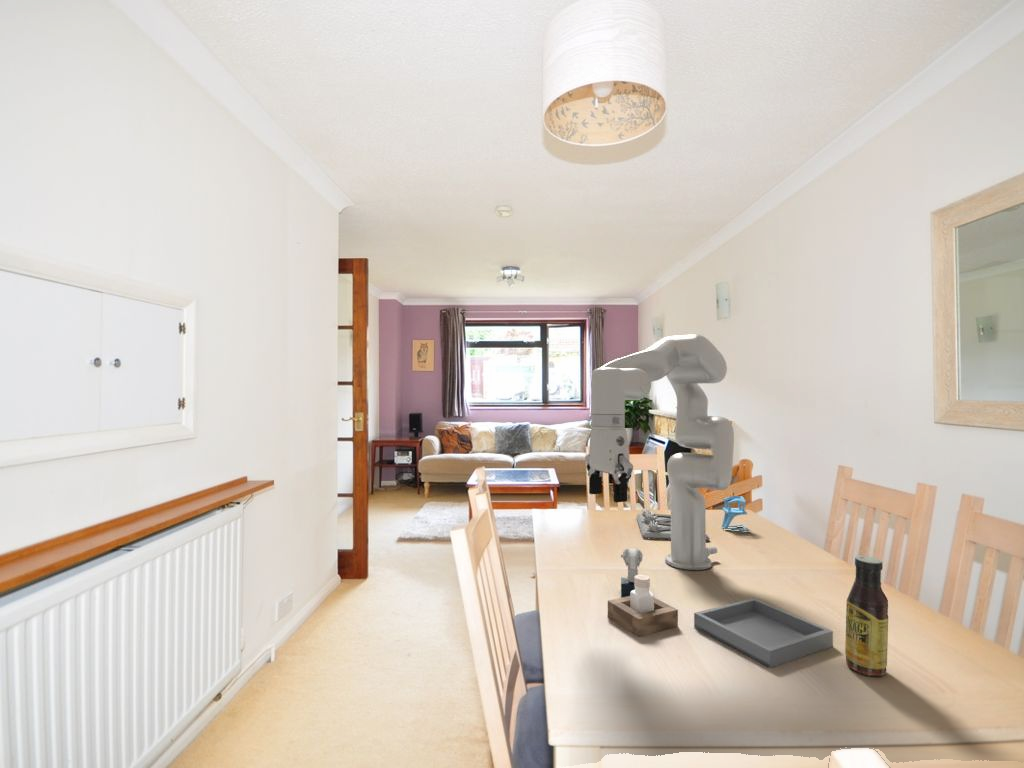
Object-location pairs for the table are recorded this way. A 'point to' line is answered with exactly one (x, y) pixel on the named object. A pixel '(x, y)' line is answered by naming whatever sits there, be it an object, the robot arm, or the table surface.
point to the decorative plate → (655, 525)
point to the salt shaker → (641, 595)
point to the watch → (630, 569)
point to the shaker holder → (643, 616)
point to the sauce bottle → (867, 620)
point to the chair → (733, 512)
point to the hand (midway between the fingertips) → (607, 497)
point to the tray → (763, 631)
